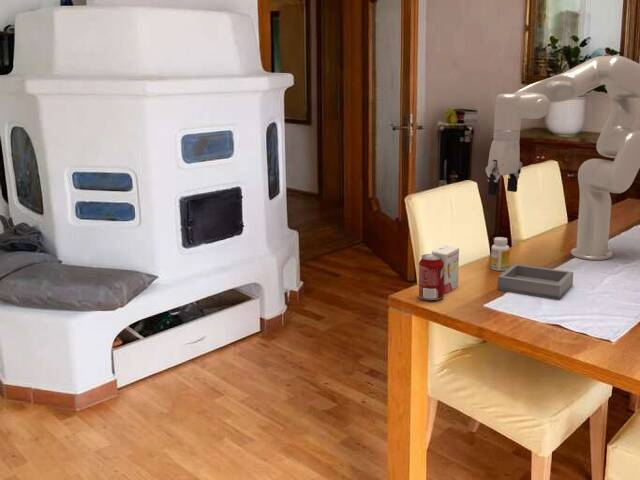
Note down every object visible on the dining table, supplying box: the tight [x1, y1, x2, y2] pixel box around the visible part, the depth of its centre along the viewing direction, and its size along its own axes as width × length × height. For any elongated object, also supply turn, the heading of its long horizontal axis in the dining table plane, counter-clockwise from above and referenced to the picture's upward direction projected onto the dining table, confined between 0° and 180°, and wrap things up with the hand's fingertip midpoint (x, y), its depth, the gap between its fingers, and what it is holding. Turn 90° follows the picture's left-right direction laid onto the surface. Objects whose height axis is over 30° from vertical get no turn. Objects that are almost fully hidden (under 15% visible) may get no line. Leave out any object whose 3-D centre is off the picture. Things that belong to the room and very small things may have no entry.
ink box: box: [430, 244, 460, 295], centre depth 188 cm, size 9×5×12 cm, turn 142°
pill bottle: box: [490, 236, 510, 272], centre depth 205 cm, size 5×5×10 cm
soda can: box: [418, 253, 445, 301], centre depth 181 cm, size 7×7×12 cm
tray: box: [497, 263, 574, 301], centre depth 187 cm, size 14×17×4 cm
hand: (502, 193), depth 200 cm, fingers open, 9 cm apart
